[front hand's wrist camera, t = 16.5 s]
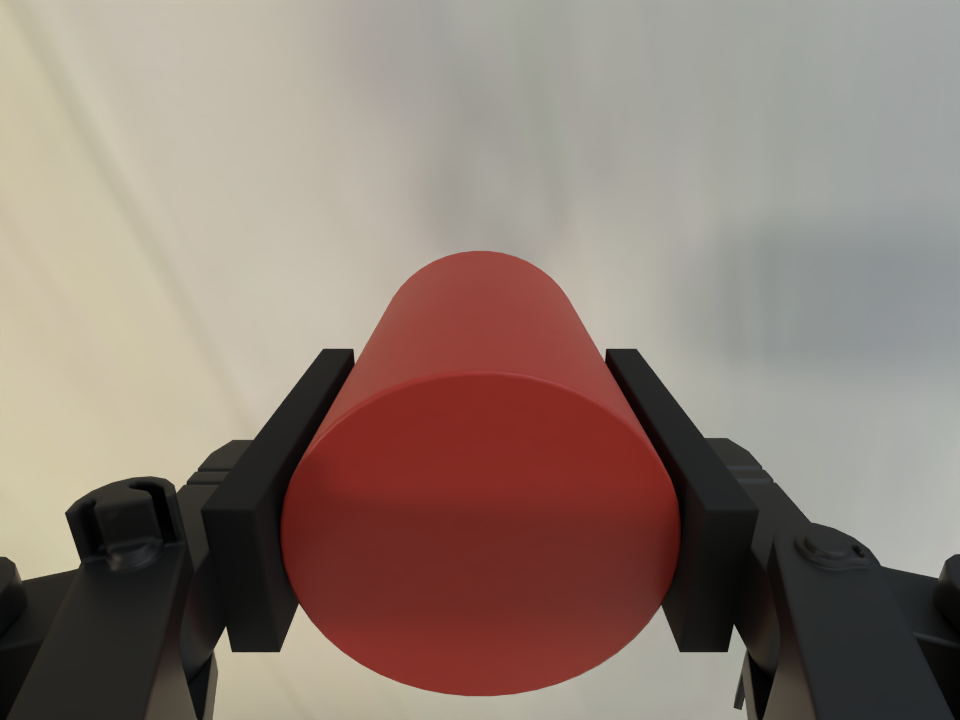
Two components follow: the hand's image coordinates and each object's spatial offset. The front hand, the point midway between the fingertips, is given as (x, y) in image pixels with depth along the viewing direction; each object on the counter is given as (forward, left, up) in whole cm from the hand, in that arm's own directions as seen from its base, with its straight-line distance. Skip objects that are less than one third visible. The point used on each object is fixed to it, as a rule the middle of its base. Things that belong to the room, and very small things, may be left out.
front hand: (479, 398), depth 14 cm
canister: (0, 0, -3) cm, 3 cm away
